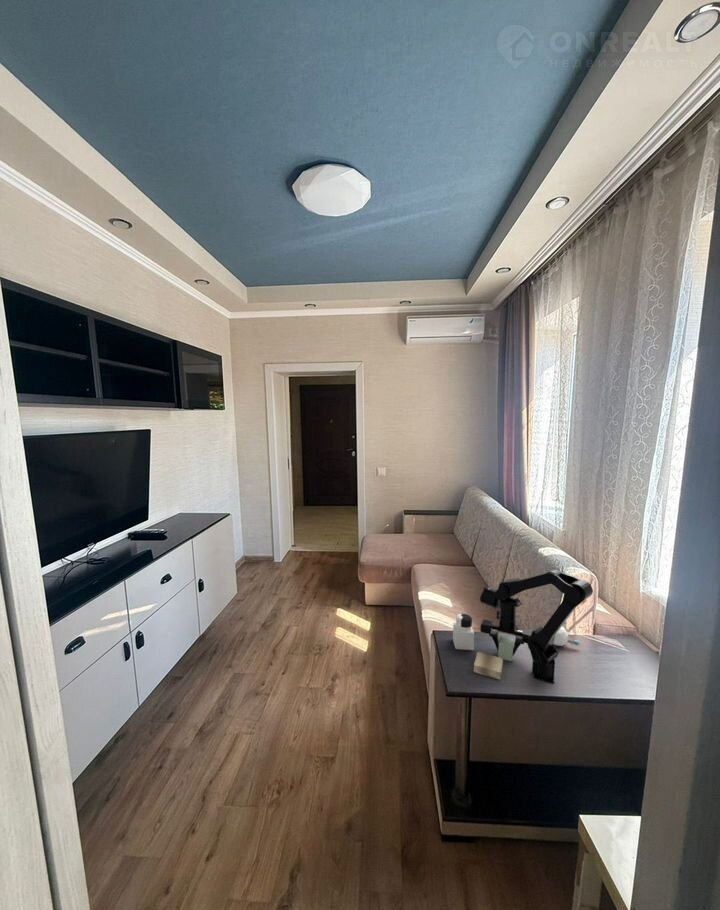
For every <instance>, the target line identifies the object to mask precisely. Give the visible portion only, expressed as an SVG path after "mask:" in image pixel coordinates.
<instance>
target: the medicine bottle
mask: <svg viewBox="0 0 720 910" xmlns="http://www.w3.org/2000/svg"><path fill="white" fill-rule="evenodd" d="M452 624H453V627H452V641H453V645H454V648H455V649H456V650H465V651H474V649H475V631H474V628H473V618H472V617H471V615H469V614H467V613H458V614H457V615H456V618H455V622H454V623H452Z"/></svg>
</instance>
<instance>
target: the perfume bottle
mask: <svg viewBox="0 0 720 910" xmlns="http://www.w3.org/2000/svg"><path fill="white" fill-rule="evenodd" d="M567 643H569V644H572V645H574V646H580V641H579V640H577V639H576V640H574V639H570V638H569V633H568V631H567V630H566V628H565V627H564V626H562V627H561V628H560V629H559V630H558V632H557V633H556V635H555V639H554V642H553V646H556V647H557V646H559V647H563V646H564V645H566V644H567Z"/></svg>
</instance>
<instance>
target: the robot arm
mask: <svg viewBox="0 0 720 910" xmlns="http://www.w3.org/2000/svg"><path fill="white" fill-rule="evenodd" d="M547 585H553V587H555V588H556V589H558V591H560V593H562V594H563V597H562V600H561V601H562V602H561V603H560V604H559V606H558V607H557V608H556V610H555V611H554V613H553V614H552V615H551V617H550V618H549V619H548V620H547V622H546V623H545V624H544V626H543V627H542V625H539V626H538V627H537V628H535V629H533V630H532V629H526V628H522V630H518V629H517V630H516V627H517V608H518V607H520V606H522V605H523V602H522V601H521V600H520V599H519V597H516V598H514V596H516V595H518V594H520V593H521V592H524V591H526V590H532V589H535V588H539V587H543V586H544V587H545V586H547ZM593 593H594V590H593V587H592V585H591V584H590V583H589V582H588V581H586V580H584V579H579V578H578V577H576V576H573V575H570V574H566V573H565V572H562V571H560V570H557V569H551V570H550V571H546V572H543V573H540V574H536V575H533V576H528V577H526V578H525V577H524V578H509V579H507V580H504V581H502V582H500V583H499V584H498V587H497V590H495V589H493V588H491V587H489V586H485V587H484V588H483V591H482V592H481V595H480V597H479V598H480V603H481V604H482V605H485V606H488V607H490V608H492V609H494V610H495V609H496V620H499V621H498V622H499V623H498V625H494V623H493V620H492V621H491V620H489V619H484V618H483V619H482V620H481V623H480V631H479V632H480V633H484V634H488V636H489V637H491V638H492V640H493V642H494V644H495V648H496V650H497V651H496V652H498V649H499V639H500V636H499V633H503V634H505V635H506V634H507V635H510V636H515V638H514V646H513V657H514V656H515V654H516V653H517V650H518V648H519V647H520V646H521V645H524V644H527V646H528V649H529V652H530V654H531V658H532V663H531V664H532V669H531V671H532V672H531V673H532V674H533V678H534V679H536V680H540V681H544V682H547V683H551V684H555V670H556V669H555V666H556V660H555V659H556V658H558V656H559V651H558V650H557V649H556V647H555V645H554V644H553V642H554V639H555V635H556V633H557V632H558V630H559V629H560V628H561V627H563V626H564V624H565V622H566V621H567V620H568V618H569V617H570V616H571V615H572V613H573V612H574V611H575V609H576V608H577V607H579V606H580V605H581V604H582V603H584V602H585V601H586V600H587V599H588V598H590V597H592V595H593ZM498 608H499V610H497V609H498Z"/></svg>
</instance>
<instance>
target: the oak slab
mask: <svg viewBox="0 0 720 910" xmlns="http://www.w3.org/2000/svg"><path fill="white" fill-rule="evenodd" d="M503 665H504V659H503V658H499V657H498V656H495V655H491V654H488V653H484V652H481V651H477V653H476V657H475V660H474V663H473V673H476V674H480V675H483V676H487V677H490V678H493V679H497V680H501V679H502V673H503Z"/></svg>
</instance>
